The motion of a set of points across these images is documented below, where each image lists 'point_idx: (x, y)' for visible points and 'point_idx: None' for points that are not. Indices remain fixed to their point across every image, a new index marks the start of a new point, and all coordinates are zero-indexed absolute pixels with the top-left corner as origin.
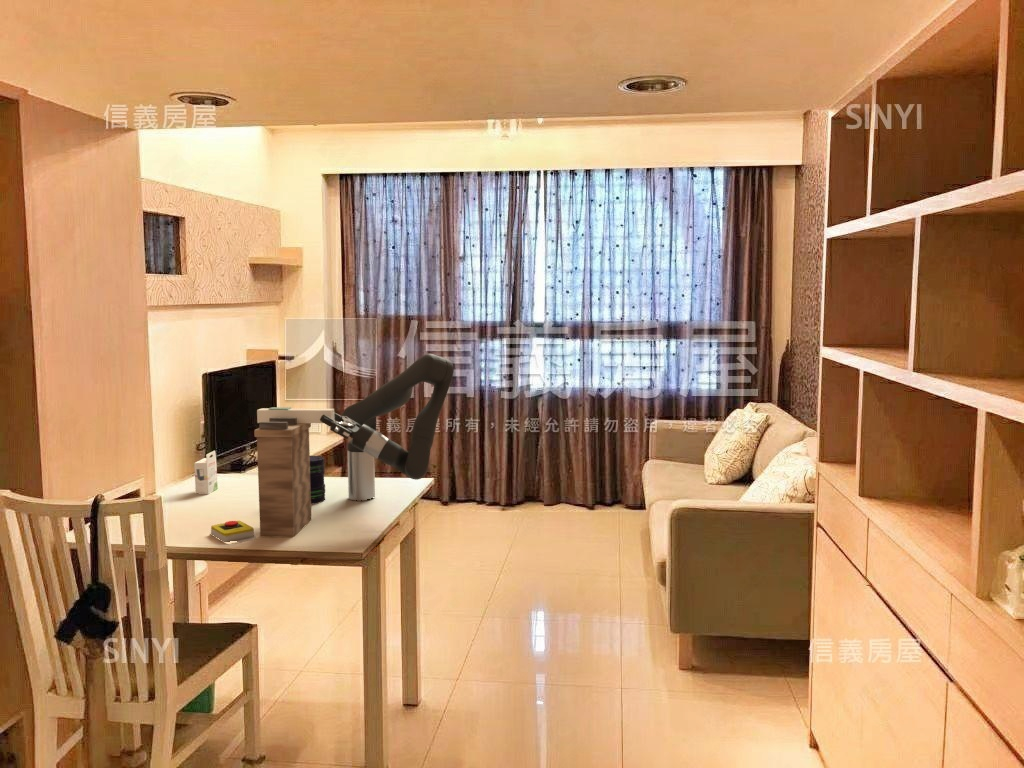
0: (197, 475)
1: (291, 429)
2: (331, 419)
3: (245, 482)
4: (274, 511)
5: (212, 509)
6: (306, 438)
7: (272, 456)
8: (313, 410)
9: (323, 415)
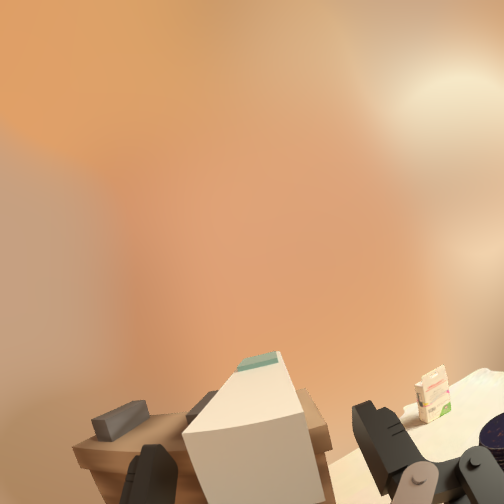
0: (418, 399)
1: (87, 446)
2: (129, 497)
3: (491, 394)
4: None
5: (370, 472)
6: None
7: None
8: (213, 398)
9: (145, 449)
